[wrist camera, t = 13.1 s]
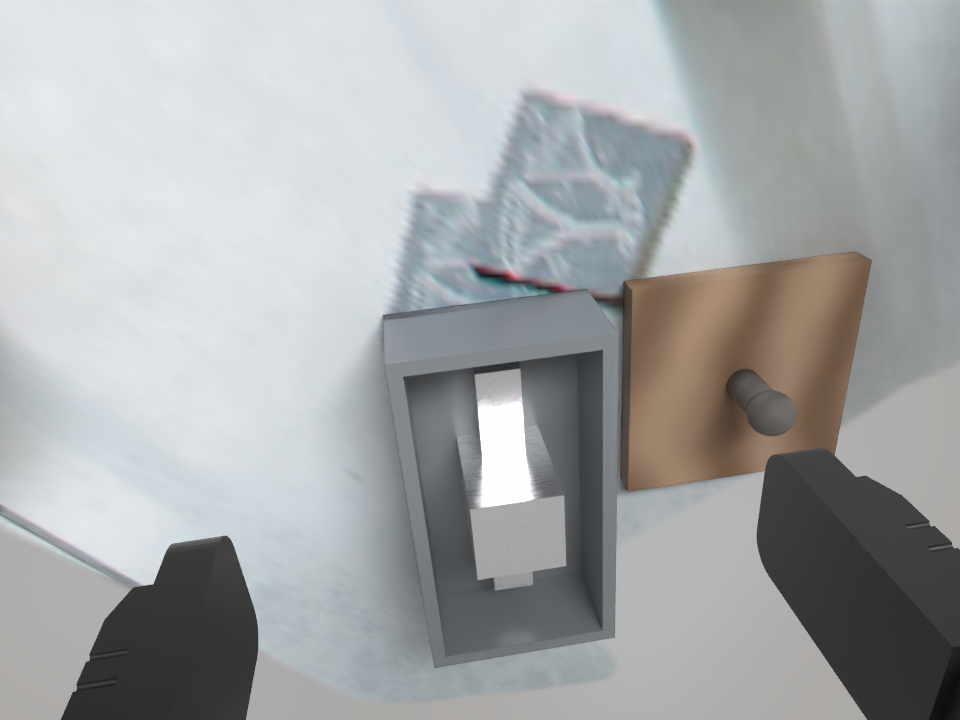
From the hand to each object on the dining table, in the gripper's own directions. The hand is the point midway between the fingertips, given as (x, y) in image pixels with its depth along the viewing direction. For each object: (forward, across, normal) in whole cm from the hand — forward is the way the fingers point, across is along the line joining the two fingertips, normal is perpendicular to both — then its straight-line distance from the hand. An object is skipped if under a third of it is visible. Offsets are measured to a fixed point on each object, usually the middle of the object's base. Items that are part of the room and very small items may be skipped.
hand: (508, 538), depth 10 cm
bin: (+28, -3, +19) cm, 34 cm away
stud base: (+28, -18, +15) cm, 37 cm away
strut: (+27, -3, +19) cm, 33 cm away
